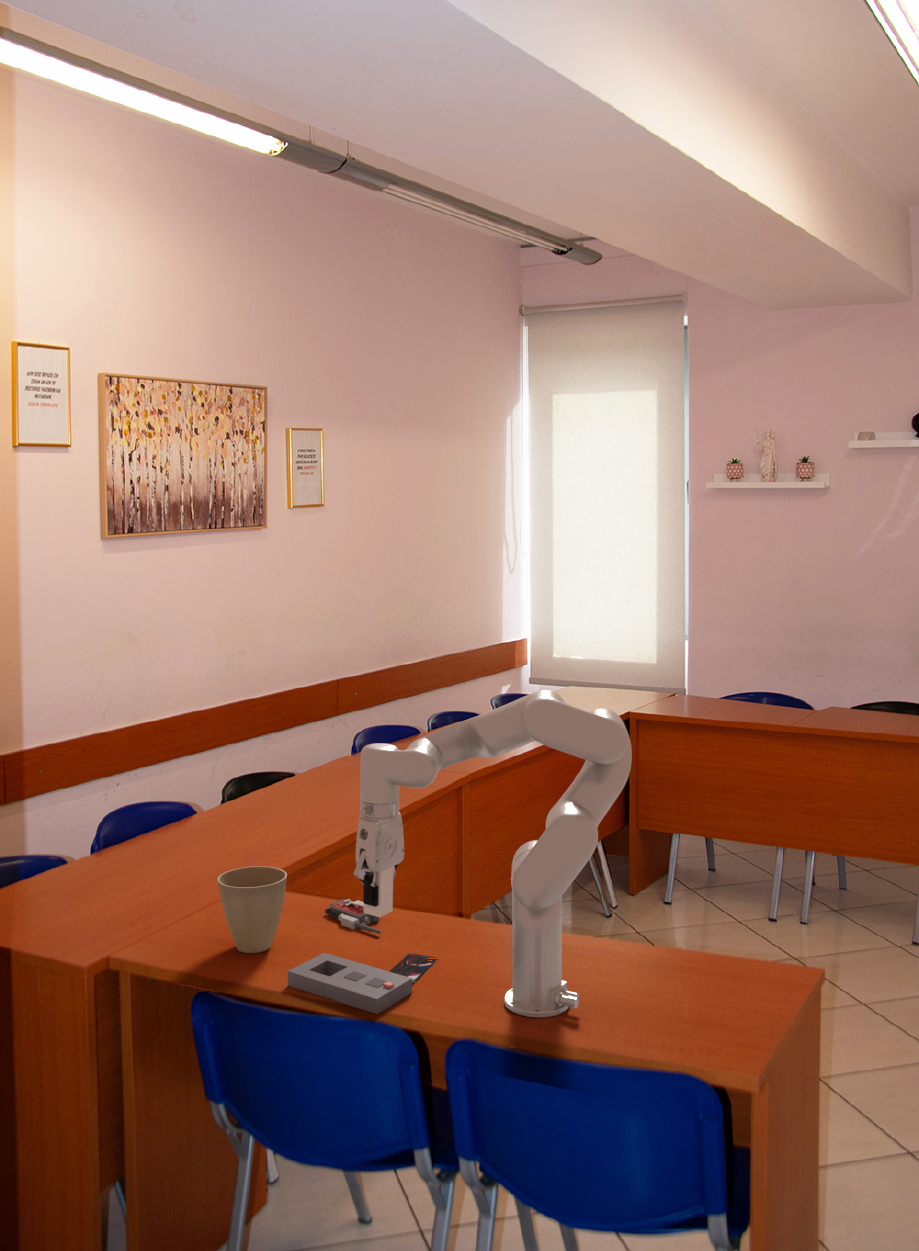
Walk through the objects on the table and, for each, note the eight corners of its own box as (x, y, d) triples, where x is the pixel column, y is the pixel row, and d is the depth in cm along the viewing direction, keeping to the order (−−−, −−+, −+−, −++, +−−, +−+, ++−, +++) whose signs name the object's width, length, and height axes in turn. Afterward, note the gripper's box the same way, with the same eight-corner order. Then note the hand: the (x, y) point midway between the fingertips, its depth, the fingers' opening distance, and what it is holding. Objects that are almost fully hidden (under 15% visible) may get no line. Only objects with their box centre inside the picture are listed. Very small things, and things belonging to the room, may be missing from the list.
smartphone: (439, 957, 224) (410, 985, 210) (439, 960, 224) (410, 988, 210) (408, 952, 227) (378, 980, 213) (408, 955, 227) (378, 983, 213)
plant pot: (297, 952, 228) (295, 880, 226) (229, 965, 221) (226, 891, 220) (277, 929, 241) (275, 861, 240) (212, 940, 235) (210, 871, 233)
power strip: (412, 992, 208) (411, 975, 207) (377, 1014, 198) (376, 995, 198) (324, 966, 220) (324, 949, 220) (287, 985, 211) (287, 968, 211)
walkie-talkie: (317, 918, 248) (376, 940, 235) (317, 900, 248) (376, 921, 235) (345, 908, 255) (404, 928, 242) (344, 890, 255) (403, 910, 242)
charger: (392, 910, 204) (393, 865, 203) (380, 917, 200) (380, 870, 199) (376, 906, 206) (376, 861, 205) (363, 912, 202) (364, 866, 202)
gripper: (368, 821, 192) (366, 918, 194) (420, 802, 206) (419, 893, 208) (336, 814, 196) (335, 909, 198) (390, 796, 210) (388, 885, 212)
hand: (378, 900), depth 203 cm, fingers closed on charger, 4 cm apart
